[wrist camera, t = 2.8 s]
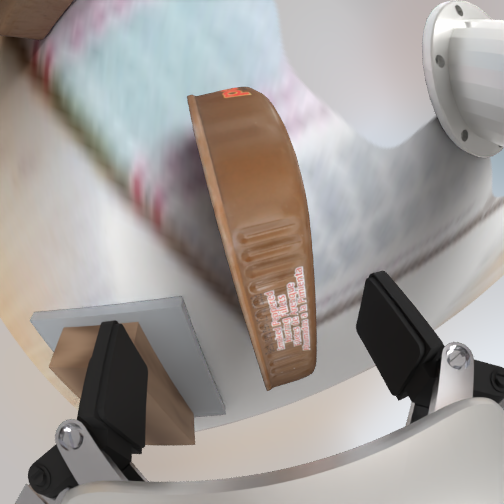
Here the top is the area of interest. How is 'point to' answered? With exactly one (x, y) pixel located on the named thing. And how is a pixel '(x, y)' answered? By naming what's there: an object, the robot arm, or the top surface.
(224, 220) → the tin
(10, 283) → the top surface
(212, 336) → the top surface
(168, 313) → the plate
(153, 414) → the base block
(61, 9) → the wooden block
